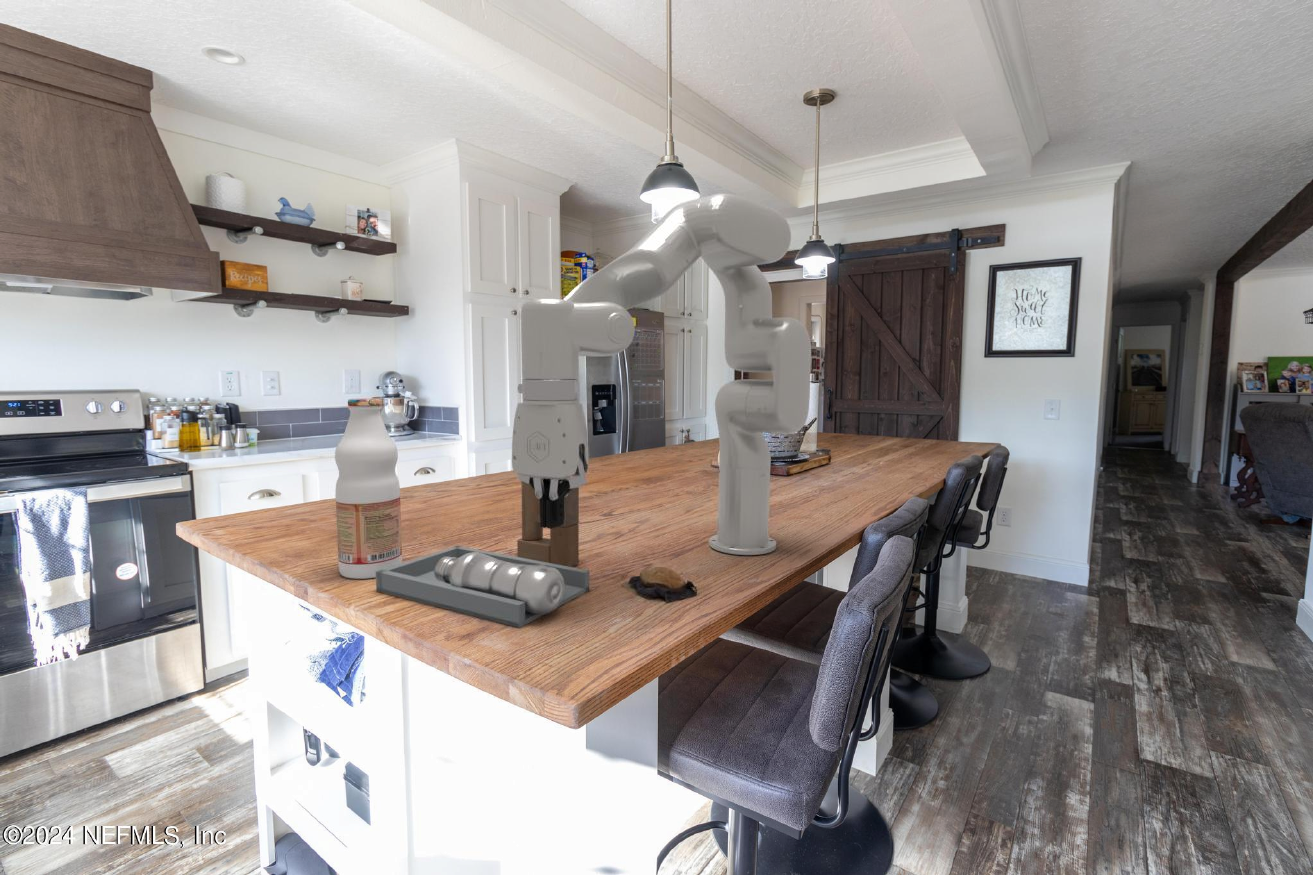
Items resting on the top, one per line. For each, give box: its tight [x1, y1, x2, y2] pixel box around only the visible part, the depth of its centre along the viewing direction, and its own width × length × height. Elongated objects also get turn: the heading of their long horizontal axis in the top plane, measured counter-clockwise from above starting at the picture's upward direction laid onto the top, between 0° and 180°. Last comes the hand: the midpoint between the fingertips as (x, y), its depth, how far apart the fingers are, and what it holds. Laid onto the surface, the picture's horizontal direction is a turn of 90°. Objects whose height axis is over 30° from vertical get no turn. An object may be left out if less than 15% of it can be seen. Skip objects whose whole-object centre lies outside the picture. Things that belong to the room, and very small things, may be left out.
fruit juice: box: [334, 398, 403, 580], centre depth 99 cm, size 9×9×28 cm
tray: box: [375, 545, 591, 629], centre depth 91 cm, size 16×27×3 cm, turn 62°
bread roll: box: [621, 566, 698, 604], centre depth 93 cm, size 11×8×4 cm
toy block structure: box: [516, 480, 580, 568], centre depth 105 cm, size 4×11×18 cm, turn 61°
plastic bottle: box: [434, 552, 565, 615], centre depth 85 cm, size 6×7×20 cm
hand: (552, 525), depth 85 cm, fingers closed
